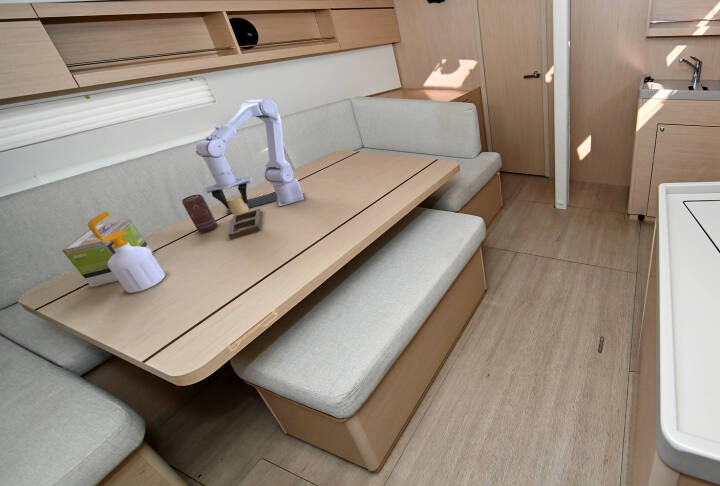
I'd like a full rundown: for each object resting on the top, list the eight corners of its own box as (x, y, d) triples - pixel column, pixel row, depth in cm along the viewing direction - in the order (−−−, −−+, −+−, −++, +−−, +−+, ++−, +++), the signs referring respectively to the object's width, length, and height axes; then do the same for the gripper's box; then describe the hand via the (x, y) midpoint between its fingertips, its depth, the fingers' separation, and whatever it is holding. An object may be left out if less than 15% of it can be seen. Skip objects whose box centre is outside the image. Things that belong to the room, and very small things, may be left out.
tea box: (118, 260, 121) (93, 224, 115) (154, 252, 124) (131, 216, 118) (89, 288, 108) (59, 249, 102) (130, 278, 111) (103, 239, 105)
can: (222, 224, 139) (206, 193, 133) (208, 233, 133) (191, 201, 127) (209, 224, 140) (192, 193, 134) (194, 233, 134) (176, 201, 128)
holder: (261, 212, 146) (259, 208, 145) (259, 230, 132) (257, 226, 131) (235, 219, 142) (233, 215, 141) (230, 239, 128) (228, 234, 127)
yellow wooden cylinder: (249, 206, 137) (242, 193, 134) (248, 211, 133) (241, 198, 130) (233, 211, 134) (226, 197, 132) (232, 216, 130) (225, 202, 128)
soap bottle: (171, 276, 110) (128, 209, 100) (134, 296, 103) (83, 226, 92) (157, 270, 114) (114, 205, 103) (120, 289, 107) (70, 220, 96)
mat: (276, 192, 162) (276, 192, 162) (276, 200, 155) (276, 200, 154) (229, 205, 154) (229, 204, 154) (227, 214, 147) (226, 213, 146)
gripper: (194, 181, 120) (212, 215, 126) (244, 170, 127) (259, 202, 132) (198, 175, 126) (215, 208, 131) (246, 164, 132) (260, 196, 138)
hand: (237, 204), depth 132 cm, fingers closed on yellow wooden cylinder, 5 cm apart
